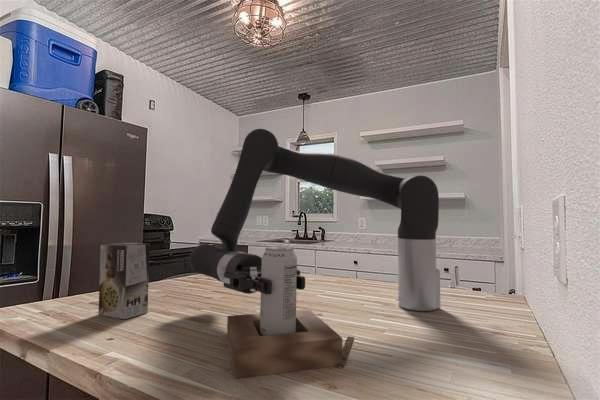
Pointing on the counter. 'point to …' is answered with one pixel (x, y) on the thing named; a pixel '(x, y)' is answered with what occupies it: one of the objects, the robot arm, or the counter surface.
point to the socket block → (281, 346)
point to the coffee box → (124, 280)
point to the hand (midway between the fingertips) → (287, 285)
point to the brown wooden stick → (345, 352)
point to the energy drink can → (279, 291)
